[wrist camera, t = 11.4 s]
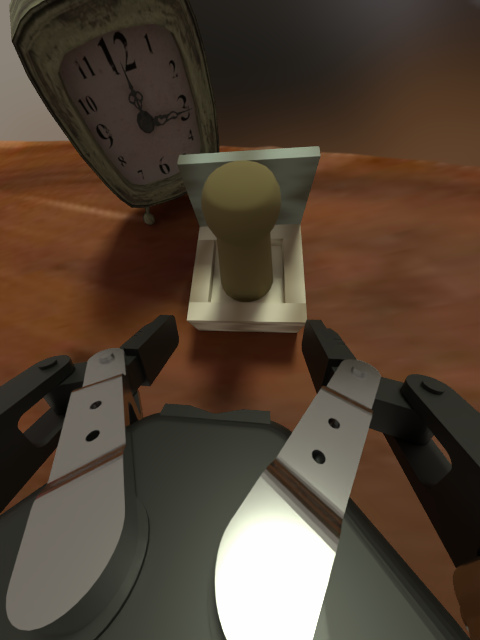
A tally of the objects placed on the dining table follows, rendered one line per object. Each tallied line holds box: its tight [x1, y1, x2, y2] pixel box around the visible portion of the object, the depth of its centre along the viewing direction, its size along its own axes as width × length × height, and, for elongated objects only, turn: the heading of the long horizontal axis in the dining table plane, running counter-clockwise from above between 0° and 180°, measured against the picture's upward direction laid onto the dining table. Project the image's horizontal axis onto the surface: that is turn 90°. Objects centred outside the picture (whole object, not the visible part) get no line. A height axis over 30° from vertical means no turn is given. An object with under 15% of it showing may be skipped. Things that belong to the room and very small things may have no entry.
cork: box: [201, 160, 281, 302], centre depth 16 cm, size 6×6×11 cm
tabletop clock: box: [10, 0, 219, 225], centre depth 18 cm, size 14×9×25 cm, turn 114°
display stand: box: [177, 146, 320, 333], centre depth 19 cm, size 12×13×11 cm
